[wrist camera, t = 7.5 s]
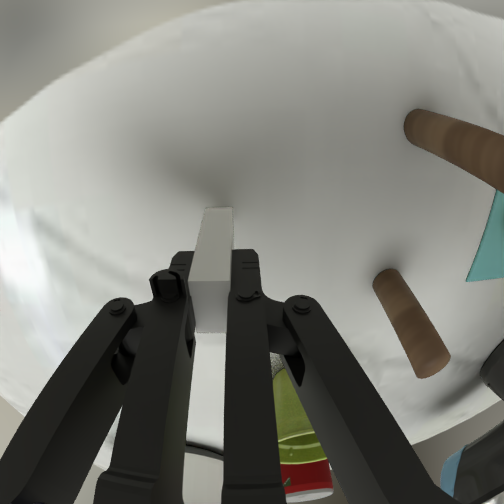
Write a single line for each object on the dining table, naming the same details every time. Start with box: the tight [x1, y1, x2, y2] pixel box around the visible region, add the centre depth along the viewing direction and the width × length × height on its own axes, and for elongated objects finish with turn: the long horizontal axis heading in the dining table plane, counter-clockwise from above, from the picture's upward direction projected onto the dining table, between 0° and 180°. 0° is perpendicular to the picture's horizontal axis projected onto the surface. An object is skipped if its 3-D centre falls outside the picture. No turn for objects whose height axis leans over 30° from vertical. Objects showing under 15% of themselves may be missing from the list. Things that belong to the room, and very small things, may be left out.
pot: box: [182, 445, 223, 504], centre depth 38 cm, size 33×23×14 cm
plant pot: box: [273, 368, 327, 464], centre depth 25 cm, size 9×9×9 cm
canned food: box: [280, 459, 333, 502], centre depth 34 cm, size 8×8×11 cm
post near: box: [404, 109, 504, 194], centre depth 12 cm, size 3×3×9 cm
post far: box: [373, 269, 451, 379], centre depth 19 cm, size 3×3×9 cm
